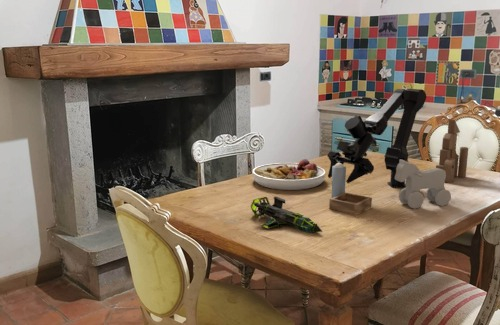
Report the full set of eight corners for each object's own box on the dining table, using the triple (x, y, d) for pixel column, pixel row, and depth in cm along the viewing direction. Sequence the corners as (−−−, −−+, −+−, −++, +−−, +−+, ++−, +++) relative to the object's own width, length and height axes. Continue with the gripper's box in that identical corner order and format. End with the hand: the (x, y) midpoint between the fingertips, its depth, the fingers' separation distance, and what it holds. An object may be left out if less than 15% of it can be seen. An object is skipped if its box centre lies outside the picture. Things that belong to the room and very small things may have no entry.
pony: (403, 212, 170) (406, 163, 167) (387, 203, 180) (390, 157, 176) (454, 206, 176) (458, 159, 172) (436, 198, 185) (439, 153, 182)
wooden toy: (450, 183, 206) (455, 122, 200) (434, 180, 211) (439, 120, 205) (467, 176, 216) (472, 118, 211) (451, 174, 221) (456, 117, 215)
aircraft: (303, 249, 145) (304, 228, 143) (236, 220, 164) (237, 201, 162) (338, 234, 156) (340, 214, 155) (272, 208, 175) (273, 190, 174)
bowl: (300, 197, 189) (301, 176, 187) (237, 184, 207) (237, 165, 205) (338, 180, 212) (338, 162, 211) (278, 170, 230) (278, 153, 228)
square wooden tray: (344, 201, 182) (345, 192, 181) (371, 207, 175) (371, 197, 175) (329, 208, 174) (329, 199, 173) (356, 215, 168) (357, 204, 167)
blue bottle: (330, 198, 186) (331, 161, 183) (343, 198, 186) (344, 161, 183) (332, 202, 182) (333, 164, 178) (345, 202, 182) (347, 164, 179)
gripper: (331, 129, 189) (308, 161, 185) (370, 136, 174) (346, 171, 170) (345, 147, 195) (323, 179, 191) (384, 156, 180) (361, 190, 176)
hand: (337, 180), depth 182 cm, fingers open, 9 cm apart
